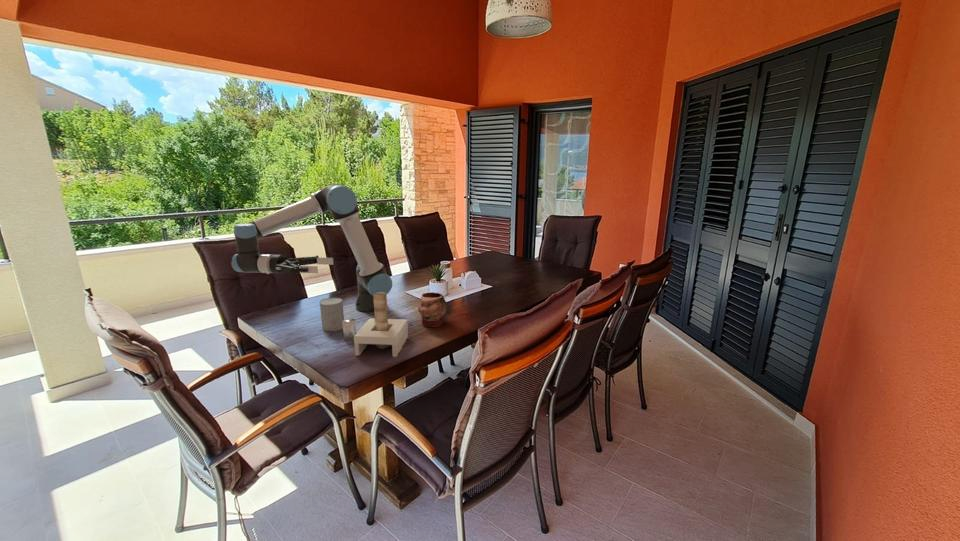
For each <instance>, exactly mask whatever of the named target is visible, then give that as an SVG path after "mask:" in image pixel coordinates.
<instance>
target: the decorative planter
mask: <svg viewBox="0 0 960 541" xmlns="http://www.w3.org/2000/svg"><path fill="white" fill-rule="evenodd" d="M447 306H448V305H447V301H446V299H445V297H444V294H442V293H441V292H424V293H422V294H421V296H420V302H419V304H418V306H417V310H418V312H419V313H418V314H420V315H421V324H422V326H425V327H428V328H437V327H438V328H439V327H440V326H442V325H443V323H444V321H445V314H446V311H447Z"/></svg>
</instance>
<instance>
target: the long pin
mask: <svg viewBox="0 0 960 541" xmlns="http://www.w3.org/2000/svg"><path fill="white" fill-rule="evenodd" d="M387 296H388V294H387V295H386V293H385V292H377V293H374V294H373V299H374V311H373V312H374V318H375V330H376V331H388V319H389V318H388V315H389V314H388V313H389V312H388V297H387ZM375 346H376V348H377V349H387V348H388V347H390V345H384V344H375Z"/></svg>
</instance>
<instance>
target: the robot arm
mask: <svg viewBox="0 0 960 541" xmlns="http://www.w3.org/2000/svg"><path fill="white" fill-rule="evenodd" d="M327 212H330V214H331V216H332V219H333V221H335V222H337V223H339V225H340V227H341V230H342V231H343V234H344V235H345V236H344V237H345V238H346V241H347V242H348V245H349V247H350V248H351V251H352V253H353V255H354V258H355V260H356V262H357V266H356V271H355V272H356V282H357V283H356V284H357V297H356V301H355V310H357V311H360V312H365V313H366V312H374V299H373V294H374V293H377V292H385V293H386V295H387V296H388V294H389V293H390V292H391V290H392V288H393V280H392V278H391V276H390V275H389V274H387V270H386V268H385V266H384V264H383V263H381V262H379V261H378V258H377V255H376V254H375V252H374V249H373V247H372V245H371V242H370V240H369V237H368V236H367V233H366V230H365V229H364V227H363V224H362V221H361V219H360V217H359V214H360V208H359V205H358V200H357V196H356V194H355V192H354V191H353V190H352V189H351V188H350V187H349V186H347V185H343V184H335V183H334V184H329V185H326V186H325V187H323V188H321V189H320V190H317V191H315V192H313V193H311V194H310V196H309V197H307V198H305V199H302V200H299V201H298V202H295V203H292V204H291V205H287V206H286V207H283V208H281V209H278V210H276V211H274V212H273V211H272V212H271V213H268V214H266V215H264V216H262V217H259V218H257V219H254V220H252V221H250V222H247V223H238V224H235V225H234V226H233V234H234V239H235V245H236V246H235V247H236V252H237V253H235V254H234V255H233V256H232V258H231V263H230V264H231V267H232V269H233V271H235V272H238V273H246V274H248V273H249V274H250V273H251V274H253V273H254V274H257V273H259V274H267V275H269V274H284V273H285V274H291V275H296V276H300V275H301V273H302V274H318V273H319V268H318V265H328V266H329V265H331V266H332V265H334V257H319V255H315V256H303V257H293V258H287V256H286V255H284V254H269V253H267V254H266V253H265V254H264V253H260V247H259V239H262V238H263V237H265V236H267V235H270V234H272V233H275V232H277V231H279V230H281V229H284V228H286V227H288V226H290V225H293V224H295V223H298V222H301V221H302V220H305V219H307V218H309V217H312V216H315V215H317V214H324V213H327ZM315 264H316V265H315Z"/></svg>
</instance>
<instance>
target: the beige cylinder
mask: <svg viewBox="0 0 960 541" xmlns="http://www.w3.org/2000/svg"><path fill="white" fill-rule="evenodd" d="M343 301H344V300H343V298H341V297H328V298H324V299H322V300H320V301H319V307H320V317H321V318H320V320H321V326H322V327H321V329H322V330H323V331H325V332H335V331H339V330H343V324H342V321H343V320H344V319H345V316H344V304H343Z"/></svg>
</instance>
